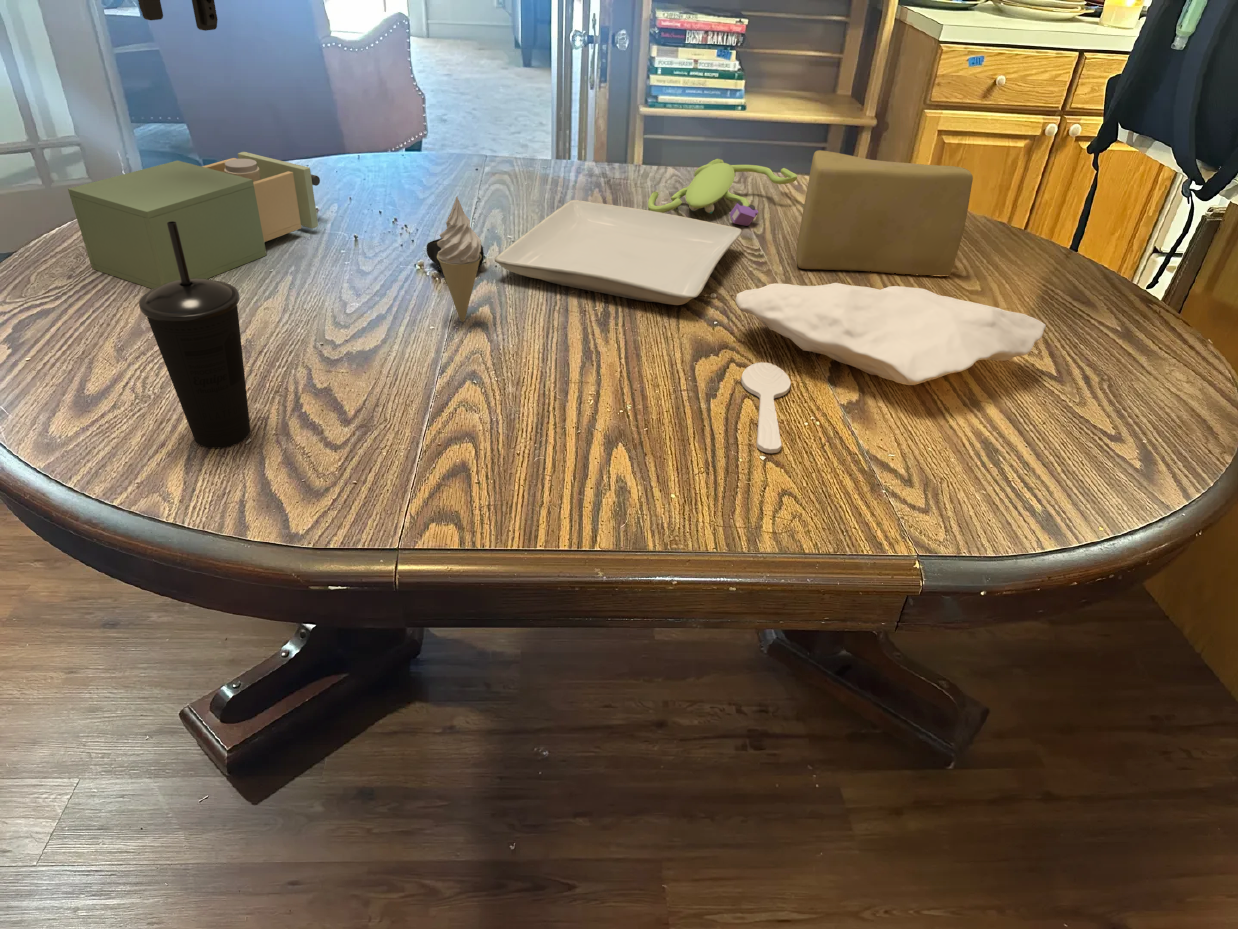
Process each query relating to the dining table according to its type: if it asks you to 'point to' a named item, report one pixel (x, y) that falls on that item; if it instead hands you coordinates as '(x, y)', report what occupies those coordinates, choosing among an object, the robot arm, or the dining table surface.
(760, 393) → the spoon
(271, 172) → the drawer
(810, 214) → the brown rectangular block
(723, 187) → the figurine
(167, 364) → the drinking cup
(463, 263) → the ice cream cone
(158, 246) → the cabinet
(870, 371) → the white rock slab
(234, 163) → the salt shaker
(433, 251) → the tape measure
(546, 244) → the square plate
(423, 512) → the dining table surface
